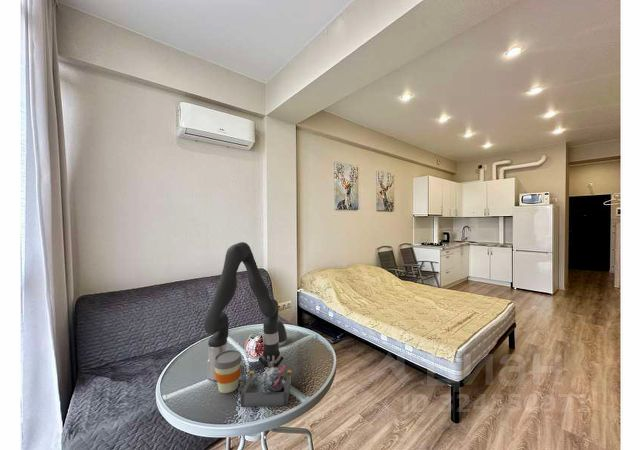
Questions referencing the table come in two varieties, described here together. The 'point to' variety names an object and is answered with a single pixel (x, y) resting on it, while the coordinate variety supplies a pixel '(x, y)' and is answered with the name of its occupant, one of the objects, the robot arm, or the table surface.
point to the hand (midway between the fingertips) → (271, 374)
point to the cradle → (265, 394)
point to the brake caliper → (275, 378)
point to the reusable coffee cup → (227, 370)
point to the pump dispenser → (282, 333)
